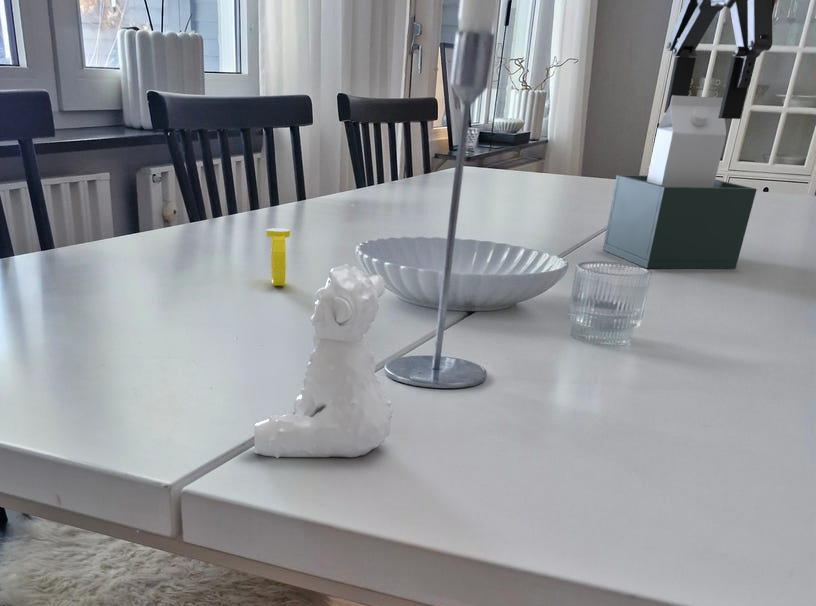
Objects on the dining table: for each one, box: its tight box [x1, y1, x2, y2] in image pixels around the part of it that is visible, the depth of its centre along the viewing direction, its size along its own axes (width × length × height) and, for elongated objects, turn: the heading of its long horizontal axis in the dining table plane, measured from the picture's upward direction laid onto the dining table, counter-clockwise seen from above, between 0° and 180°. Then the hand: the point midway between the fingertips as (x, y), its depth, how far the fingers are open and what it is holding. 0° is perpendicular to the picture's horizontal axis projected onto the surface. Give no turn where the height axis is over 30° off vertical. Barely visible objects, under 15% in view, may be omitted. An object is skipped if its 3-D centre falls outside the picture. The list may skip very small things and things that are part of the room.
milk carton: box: [647, 95, 727, 187], centre depth 124 cm, size 7×7×19 cm
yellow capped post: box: [265, 227, 291, 287], centre depth 104 cm, size 6×3×6 cm, turn 6°
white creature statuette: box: [253, 263, 394, 459], centre depth 60 cm, size 10×9×12 cm
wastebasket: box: [602, 174, 758, 270], centre depth 126 cm, size 14×14×10 cm
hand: (700, 116), depth 119 cm, fingers open, 13 cm apart
